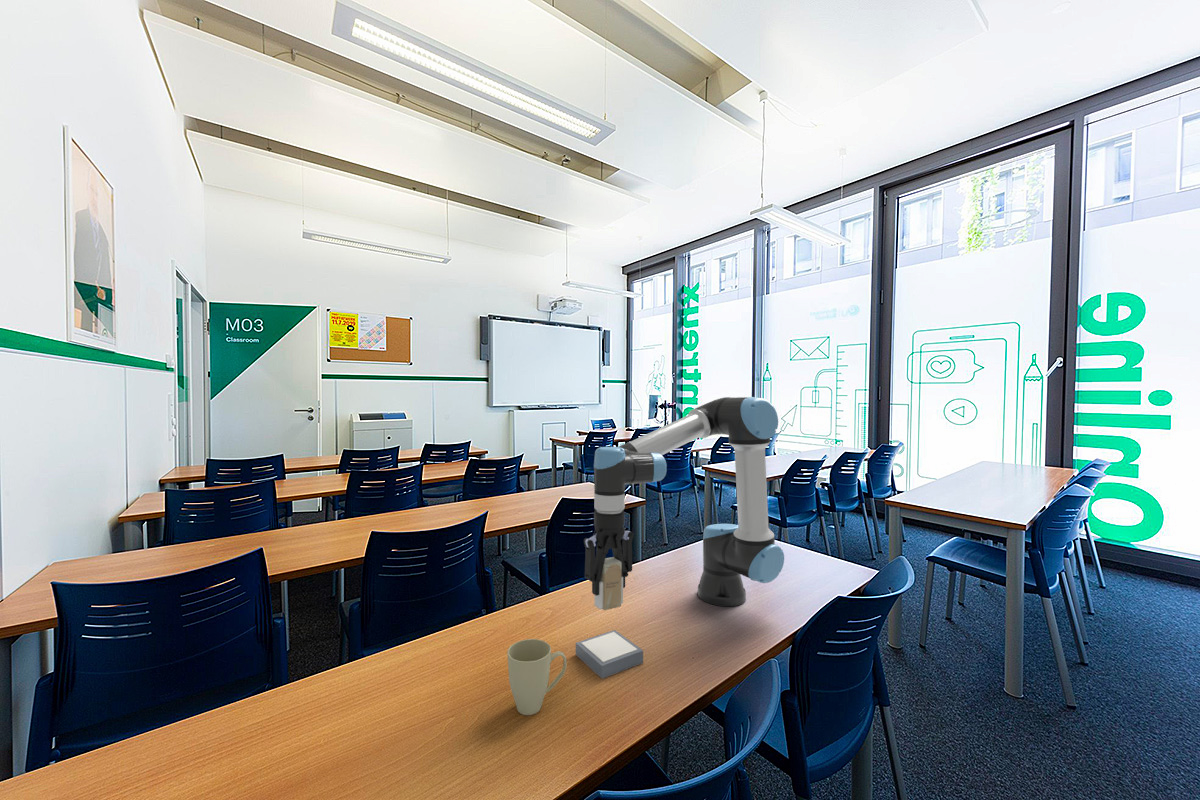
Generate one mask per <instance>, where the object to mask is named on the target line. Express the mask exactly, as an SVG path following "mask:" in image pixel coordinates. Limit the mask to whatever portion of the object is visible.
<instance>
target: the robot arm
mask: <svg viewBox="0 0 1200 800" xmlns="http://www.w3.org/2000/svg"><path fill="white" fill-rule="evenodd" d="M778 427H779V417H778V413H777V410H776V408H775V406H774V405H773V404H772V403H771V402H770V401H769V400H768V399H766V398H762V397H755V396H747V397H746V396H745V397H739V396H738V397H731V396H728V397H727V396H726V397H720V398H717V399H713V400H711V401H709V402H707V403H704V404H702V405H700V406H698V407H696V408H694V409H691V410H690V411H689V412H688V414H687V415H685V416H683V417H682V418H679V419H677V420H674V421H672V422H670V423H668V424H665V425H664V426H662V427H660V428H657V429H655V430H653V431H651V432H648V433H646V434H644V435H642V436H640V437H638V438H636V439H633V440H631V441H629V442H626V443H624V444H622V445H620V446H600V447H598V448H596V450H595V451H594V460H593V471H594V475H593V476H594V481H593V482H594V483H593V485H594V486H593V487H594V488H593V489H594V493H593V495H594V497H593V500H594V504H593V505H594V511H593V512H594V513H593V525H594V532H593V535H592V536H590V537H589V538H587V537H585V538H584V539H583V544H584V547H585V555H584V556H585V557H584V558H585V559H584V578H585V579H586V580H588V581H589V582H591V593H592V595H594V603H593V604H594V607H596V608H597V609H599V610H601V611H602V610H603V582H602V581H601V576H602V571H603V565H604V562H605V558H607V557H606V556H607V555H608V553H609V550H611V551H612V555H613V556H612V557H614V558H616V559H617V560H619V561H620V562H622V568H621V605H622V604H624V588H626V578H627V577H629V573H631V572H632V571H633V541H634V540H633V539H634V533H633V532H632V531H629V530H627V529H626V530H625V528H624V527H625V518H626V517H625V511H624V510H625V507H626V503H625V502H626V501H625V499H626V498H625V497H626V495H625V493H626V492H625V491H626V490H625V489H626V485H628V486H629V485H636V484H647V483H650V484H653V483H655V482H660V481H662V480H663V479H664V478H665V477H666V476H667V471H668V470H667V467H668V466H667V465H668V464H667V461H666V459H665V457H664V456H663V455H665V454H668V453H670V452H671V451H673V450H676V449H678V448H680V447H681V446H684V445H686V444H688V443H690V442H692V441H694V440H696V439H698V438H700V439H707V438H708V437H710V436H714V435H716V436H717V435H726V436H728V444H729V445H730V446H731V448H733V449H734V461H735V462H734V465H735V466H734V467H735V481H736V483H735V484H736V488H735V489H736V504H737V505H736V507H737V522H738V523H737V524H733V523H715V524H710V525H707V526H705V528H704V529H703V537H702V552H703V553H702V559H703V564H702V566H703V569H702V574H701V576H700V580H699V583H698V585H697V597H698V598H699V599H700V600H701V601H704V602H706V603H708V604H711V605H715V606H720V607H721V606H722V607H734V606H735V607H736V606H740V605H742V604H744V603H745V602H746V601H747V591H746V589H745V587H744V584H743V580H742V576H744V577H746V578H749V579H750V580H751V581H754V582H758V583H760V584H768V583H772V581H774V580H775V579H777V577H779V575H780V573H781V572H782V571H783V568H784V563H785V553H784V550H783V549H782V548H781V547H780V546H779V545H778V544H776V543H775V533H774V532H773V531H772V530H771V529H770V528H769V508H768V491H767V490H768V488H767V487H768V485H767V484H768V483H767V465H766V448H767V447H768V446H769V445H770V444H771V438H772V437H774V436H775V435H776V434H775V433H776V432H777V431H776V430H777V429H778ZM621 541H622V542H621ZM595 547H596V548H595Z"/></svg>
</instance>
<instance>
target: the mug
mask: <svg viewBox="0 0 1200 800" xmlns="http://www.w3.org/2000/svg"><path fill="white" fill-rule="evenodd" d="M506 653H507V654H506V655H507V669H508V681H509V686H510V690H511V694H512V696H513V699H514V703H515V707H516V710H517V712H518V713H520V714H521V715H524V716H532V715H535V714H537V713H538V712H539V711H540V710H541V708H542V705H543V702H544V698H545V695H546V694H547V693H549V692H550V691H551V690H552V689H553V688H554V687H555V686H556V685H557V684H558V683H559V681H560V680H561V679H562V678H563V677H564V674H565V672H566V671H567V661H568V660H567V658H566V655H565V653H564V652H563V651H561V650H559V651H557V650H556V651H554V652H553V653H552V647H551V645H550V644H549V643H548V642H546V640H542V639H537V638H527V639H522V640H518V641H516V642H515V643H513V644H511V645H510V646H509V647H508V648H507V652H506ZM559 656H561V657H562V659H563V666H562V669H561V670H560V672H559V673H558V675H557V676H556V677H555V679H553V681H552V682H551V683H550V684H549V679H550V673H551V672H550V670H551V663H552V661H554V660H555V659H556V658H558V657H559ZM548 684H549V685H548Z"/></svg>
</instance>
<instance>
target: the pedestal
mask: <svg viewBox="0 0 1200 800" xmlns="http://www.w3.org/2000/svg"><path fill="white" fill-rule="evenodd" d="M575 655H576V656H577V658H579V659H580V660H581V662H583V663H584V664H585V665H586V666H587V667H588V668H590V669H591V671H593V672H594V673H595V674H596V675H597V676H598V677H599V678H600V679H601V680H603V679H605V678H608V677H610V676H613V675H615V674H618V673H621V672H623V671H626V670H628V669H631V668H633V667H635V666H639V665H641V664H644V650H643V649H642V648H640V647H639V646H638V645H637V644H636V643H634V642H632V641H631V640H629V639H628V638H626V637H625V636H624V635H622V634H621V633H620V632H619V631H617V629H613V630H609V631H607V632H604V633H601V634H598V635H595V636H592V637H589V638H586V639H583V640H580V641H577V642H575Z"/></svg>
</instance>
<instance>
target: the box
mask: <svg viewBox="0 0 1200 800" xmlns="http://www.w3.org/2000/svg"><path fill="white" fill-rule="evenodd" d="M621 568H622V562H620V561H619V560H617V559H616V558H614V556H612V557H605V562H604V565H603V571H602V576H601V581H602V582H603V609H602V610H603V611H607V610H608V611H609V610H612V609H616V608H620V607H622V604H621Z"/></svg>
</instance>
